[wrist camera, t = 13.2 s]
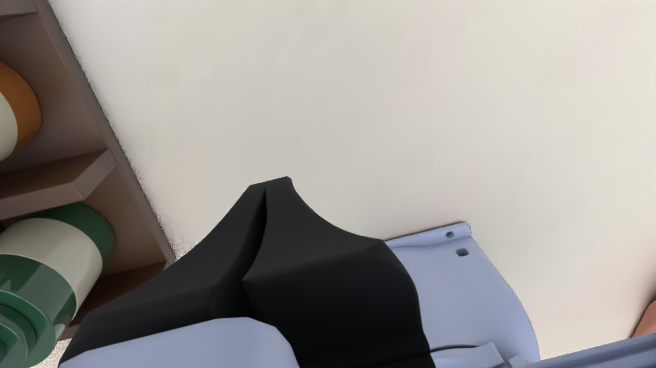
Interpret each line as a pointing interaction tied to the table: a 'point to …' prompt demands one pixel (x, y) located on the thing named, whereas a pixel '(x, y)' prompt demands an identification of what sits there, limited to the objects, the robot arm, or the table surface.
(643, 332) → the brown block
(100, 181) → the rack
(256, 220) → the robot arm
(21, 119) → the amber bottle
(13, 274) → the dark green bottle
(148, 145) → the table surface
